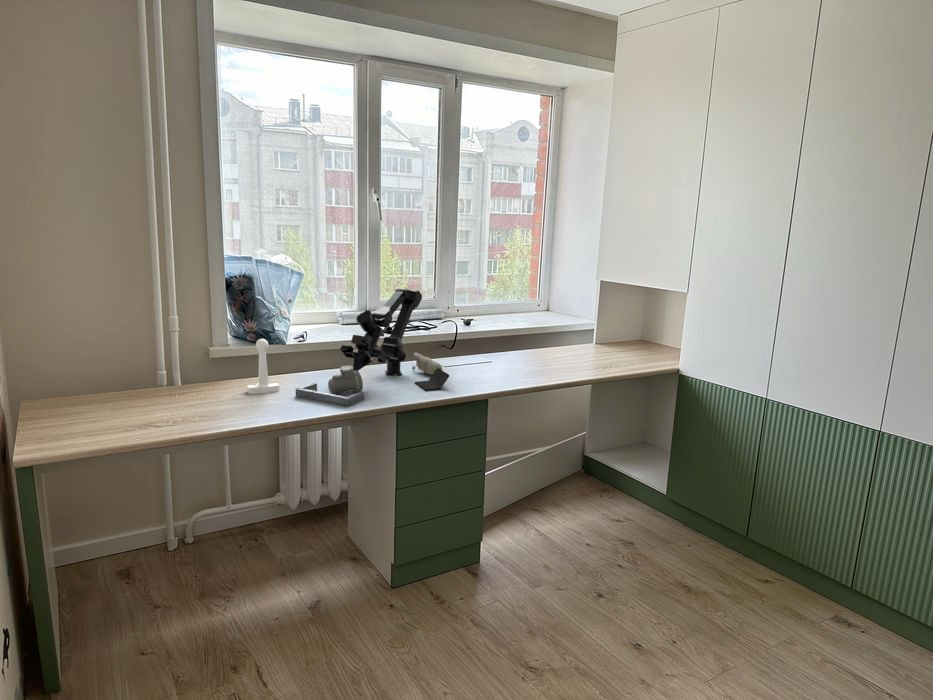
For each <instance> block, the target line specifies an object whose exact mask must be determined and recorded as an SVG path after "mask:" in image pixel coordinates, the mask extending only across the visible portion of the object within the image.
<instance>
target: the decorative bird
mask: <svg viewBox="0 0 933 700" xmlns="http://www.w3.org/2000/svg"><path fill="white" fill-rule="evenodd" d="M413 356H415V357H416V358H415V359H416V360H415V362H416V363H415V366H414V364H412V367H411V368H412V369H411V371H412V372H414V371H415V370H419V371H422V372H423V373H424V374H427V375H430V376H432V375H433V374H434V372H435V371H436V369H437V368H439V369H440V370H442V371H443V367H442V364H440V363H439V362H438V361H436V360H433V359H432V358H430V357H426V356H424V355H422V354H420V353H418V352H414V353H413ZM416 367H417V369H416Z"/></svg>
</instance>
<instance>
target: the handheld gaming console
mask: <svg viewBox="0 0 933 700" xmlns="http://www.w3.org/2000/svg"><path fill="white" fill-rule="evenodd" d="M449 378H450V374H448V373H447V372H445V371H443V369H442V370H440V369H439V368H437V369H436V371H435V372H434V374H433V375H430V378H429V379H428V380H420V381H414V384H415V385H416V386H417V387H419V388H420V389H421V390H423V391H424V392H432V391H433V392H434V391H441V390H442V388H443V386H444V384H445V383H446V382H447V381H448V379H449Z"/></svg>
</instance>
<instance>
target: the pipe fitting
mask: <svg viewBox="0 0 933 700" xmlns="http://www.w3.org/2000/svg"><path fill="white" fill-rule="evenodd" d="M353 370H354V368H353V365H342V366H341V367H339V372H340V373H336V374H333V375H332V376H331V377H332V378H330V379H329V380H328V383H327V386H328V391H329V392H330V394H334V395H339V394H342V393H348V392H349V391H353V392H355V393H358V392H361V391H362V392H363V390H364V389H363V388H364V383H363V379H362V375H361V372H359V371H357V370H356V371H353Z"/></svg>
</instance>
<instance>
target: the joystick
mask: <svg viewBox="0 0 933 700" xmlns="http://www.w3.org/2000/svg"><path fill="white" fill-rule="evenodd" d="M255 348H256V349H257V350H258V382H257V383H256V384H251V385H250V384H249V385H247V386H246V389H247V394H248V395H249V394H251V395H252V394H253V395H255V394H256V395H258V394H268V393H269V394H270V393H277V392H279V391H280V384H279V383H278V382H274V383H270V382H269V375H268V373H269V372H268V363H267V353H266V351H267V349H268V348H269V342H268V340H266V339H265V338H259V339H258V340H256V343H255Z"/></svg>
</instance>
